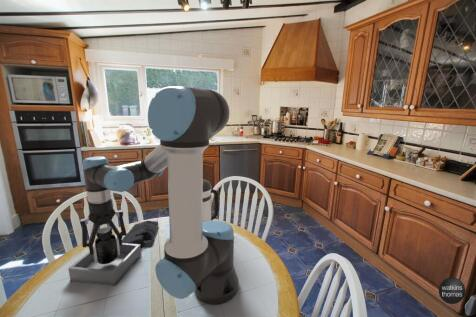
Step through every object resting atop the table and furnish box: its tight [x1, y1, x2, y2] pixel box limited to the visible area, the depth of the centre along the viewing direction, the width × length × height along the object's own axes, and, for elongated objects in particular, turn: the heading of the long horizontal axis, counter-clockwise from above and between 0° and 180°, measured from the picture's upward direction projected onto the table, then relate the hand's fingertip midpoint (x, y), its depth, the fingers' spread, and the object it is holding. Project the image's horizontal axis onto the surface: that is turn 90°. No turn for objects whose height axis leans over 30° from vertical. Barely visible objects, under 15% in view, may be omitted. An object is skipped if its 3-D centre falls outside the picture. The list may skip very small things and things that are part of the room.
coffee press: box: [203, 178, 220, 222], centre depth 110 cm, size 17×16×30 cm
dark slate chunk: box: [122, 220, 159, 249], centre depth 111 cm, size 15×22×5 cm
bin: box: [68, 243, 142, 287], centre depth 89 cm, size 17×17×5 cm
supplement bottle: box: [94, 226, 118, 264], centre depth 88 cm, size 7×7×12 cm
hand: (107, 256), depth 89 cm, fingers closed on supplement bottle, 7 cm apart
